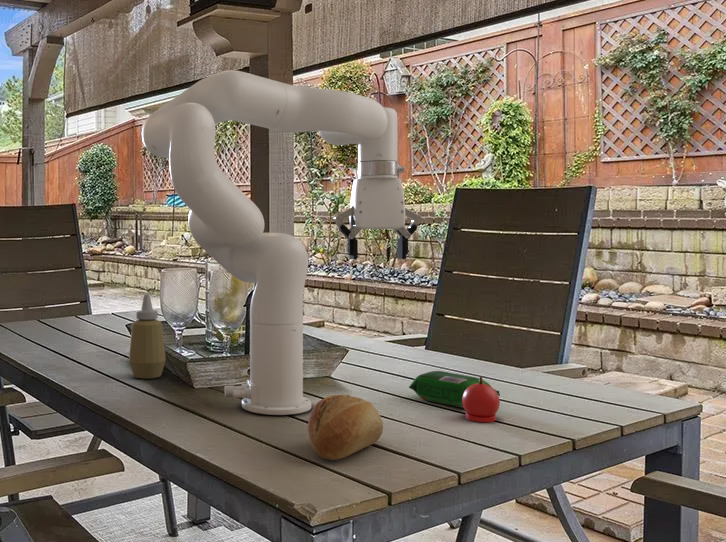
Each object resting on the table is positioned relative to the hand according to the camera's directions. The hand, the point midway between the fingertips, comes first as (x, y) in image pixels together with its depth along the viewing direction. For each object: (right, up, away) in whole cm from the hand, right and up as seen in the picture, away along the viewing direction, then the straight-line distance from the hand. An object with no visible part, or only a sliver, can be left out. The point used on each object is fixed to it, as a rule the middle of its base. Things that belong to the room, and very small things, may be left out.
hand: (377, 259), depth 148 cm
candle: (+13, -27, -20) cm, 35 cm away
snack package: (+12, -27, -9) cm, 30 cm away
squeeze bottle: (-46, -26, +17) cm, 56 cm away
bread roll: (-14, -27, -38) cm, 49 cm away
